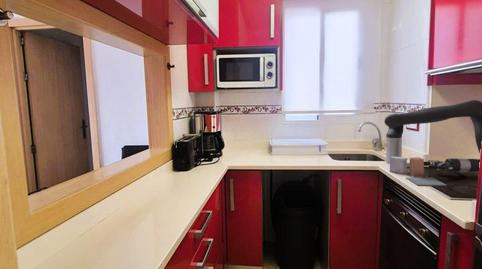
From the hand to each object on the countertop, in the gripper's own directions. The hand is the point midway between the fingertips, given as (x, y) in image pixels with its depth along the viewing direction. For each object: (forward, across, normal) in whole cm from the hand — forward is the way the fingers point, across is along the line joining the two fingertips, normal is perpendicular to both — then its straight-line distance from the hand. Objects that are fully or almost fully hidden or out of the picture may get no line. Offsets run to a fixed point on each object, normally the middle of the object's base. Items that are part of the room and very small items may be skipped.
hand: (424, 165), depth 152 cm
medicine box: (+10, -9, +6) cm, 15 cm away
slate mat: (+5, +12, +6) cm, 15 cm away
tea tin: (+4, 0, +6) cm, 7 cm away
